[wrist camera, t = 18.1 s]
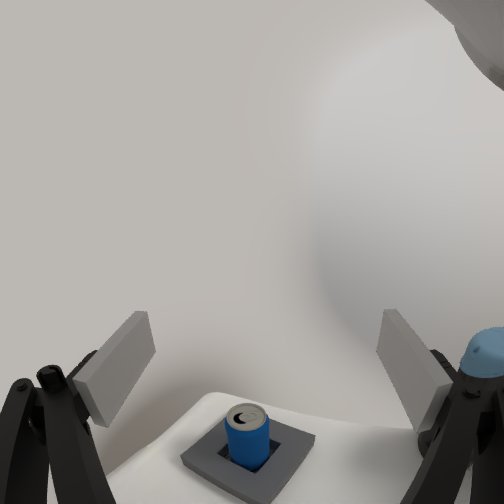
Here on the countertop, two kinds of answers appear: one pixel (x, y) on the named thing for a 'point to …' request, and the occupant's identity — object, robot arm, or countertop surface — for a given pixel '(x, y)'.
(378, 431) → the countertop surface
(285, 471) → the socket plate
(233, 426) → the beverage can
